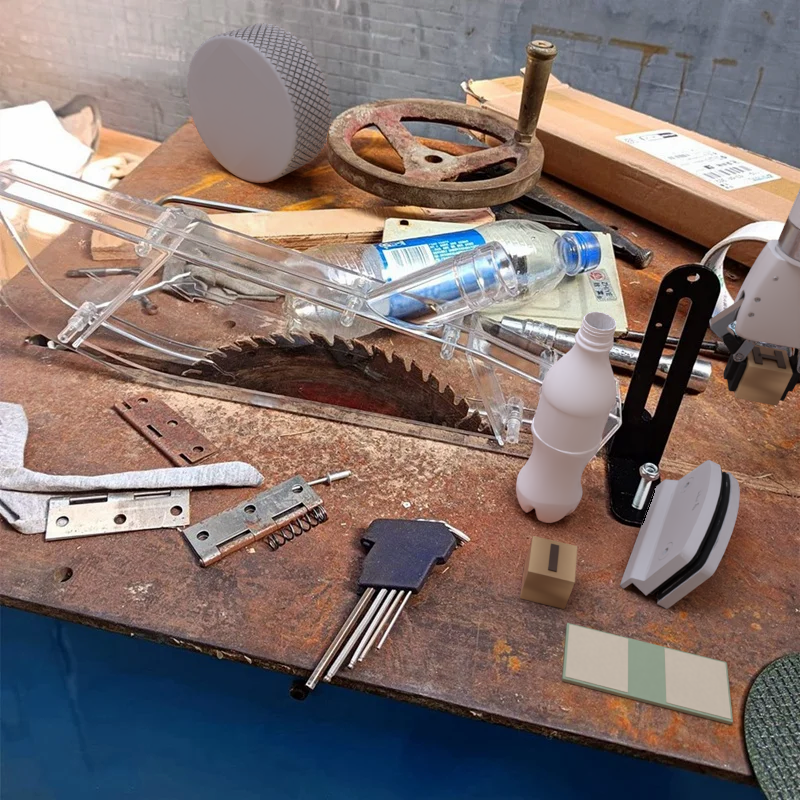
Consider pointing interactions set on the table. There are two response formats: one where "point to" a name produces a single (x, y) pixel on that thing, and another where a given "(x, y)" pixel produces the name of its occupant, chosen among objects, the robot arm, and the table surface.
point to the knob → (259, 101)
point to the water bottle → (569, 422)
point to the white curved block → (684, 533)
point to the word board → (647, 673)
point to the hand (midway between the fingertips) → (754, 387)
